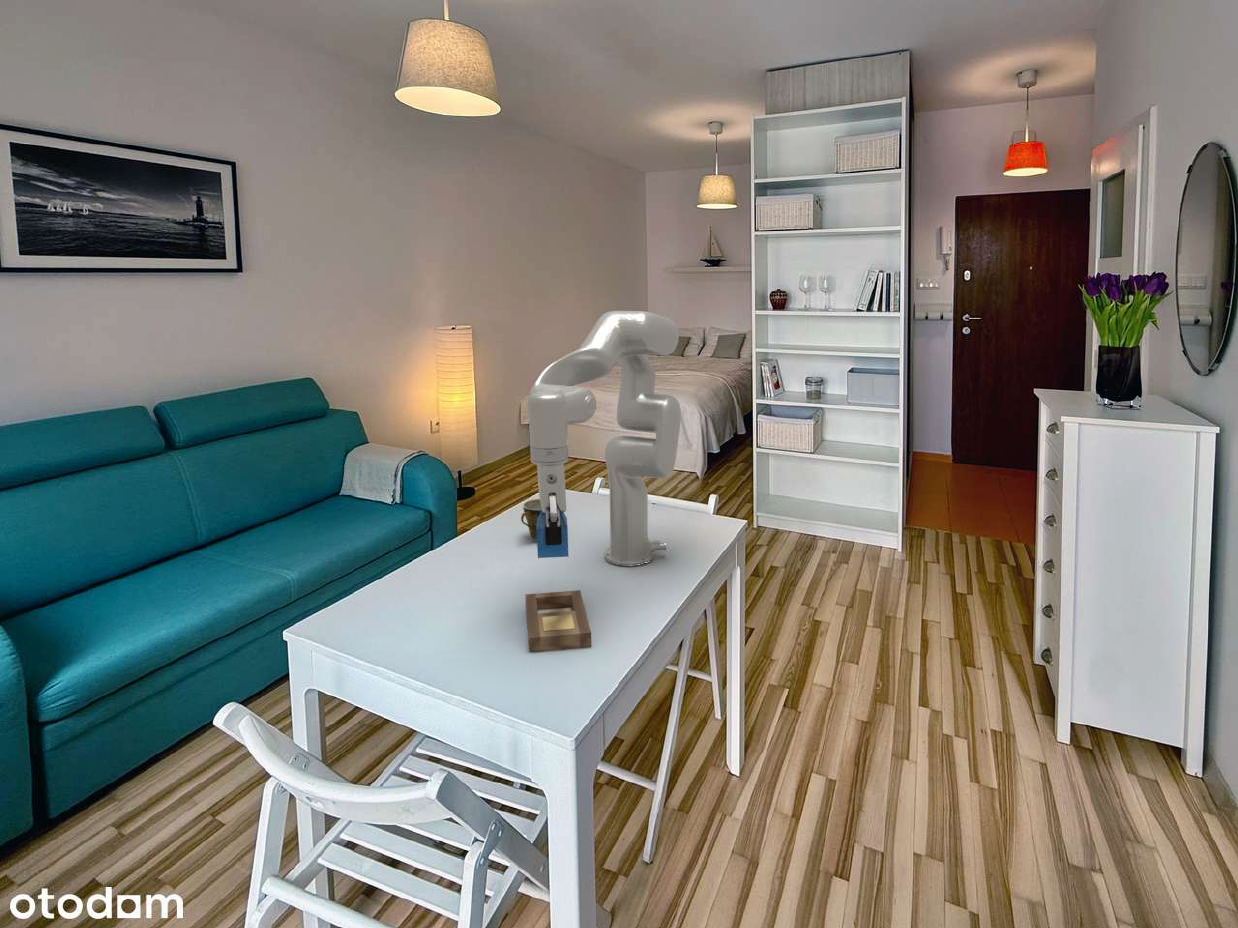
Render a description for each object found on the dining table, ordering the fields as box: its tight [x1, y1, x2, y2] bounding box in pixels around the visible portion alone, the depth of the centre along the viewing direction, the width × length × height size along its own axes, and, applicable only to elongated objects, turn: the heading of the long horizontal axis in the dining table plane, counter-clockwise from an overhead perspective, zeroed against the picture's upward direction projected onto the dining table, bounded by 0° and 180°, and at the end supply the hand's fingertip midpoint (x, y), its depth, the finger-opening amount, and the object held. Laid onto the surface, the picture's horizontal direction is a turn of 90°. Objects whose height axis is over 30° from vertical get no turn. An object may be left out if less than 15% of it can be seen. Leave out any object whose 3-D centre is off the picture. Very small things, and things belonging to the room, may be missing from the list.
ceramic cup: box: [520, 498, 542, 544], centre depth 198 cm, size 13×10×10 cm
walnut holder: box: [525, 589, 592, 653], centre depth 151 cm, size 12×20×3 cm, turn 9°
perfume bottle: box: [536, 508, 569, 559], centre depth 150 cm, size 6×6×12 cm
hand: (552, 537), depth 150 cm, fingers closed on perfume bottle, 6 cm apart
